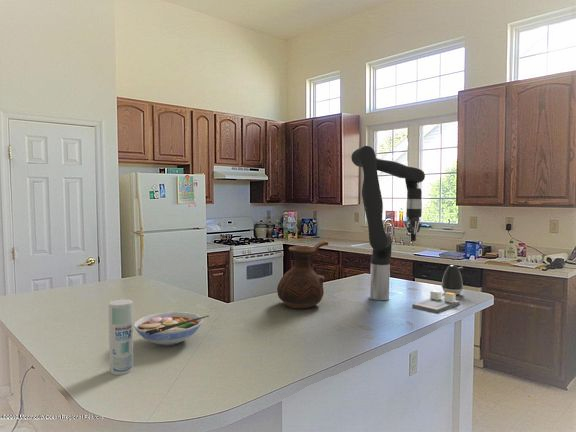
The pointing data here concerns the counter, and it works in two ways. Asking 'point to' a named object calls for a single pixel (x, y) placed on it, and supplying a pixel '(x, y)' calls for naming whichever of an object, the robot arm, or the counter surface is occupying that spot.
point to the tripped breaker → (449, 297)
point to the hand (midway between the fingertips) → (413, 241)
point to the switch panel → (434, 305)
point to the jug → (302, 280)
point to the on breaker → (435, 295)
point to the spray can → (121, 336)
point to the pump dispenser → (452, 280)
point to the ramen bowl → (168, 327)
